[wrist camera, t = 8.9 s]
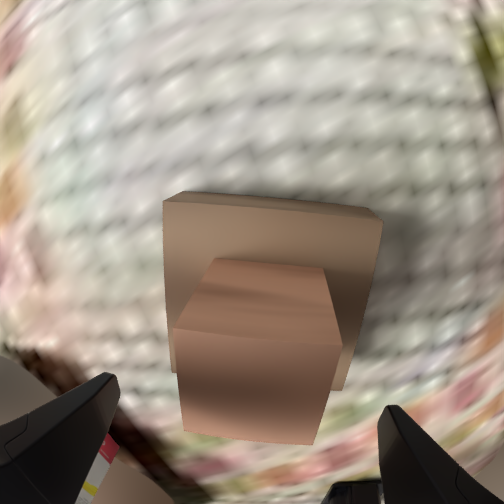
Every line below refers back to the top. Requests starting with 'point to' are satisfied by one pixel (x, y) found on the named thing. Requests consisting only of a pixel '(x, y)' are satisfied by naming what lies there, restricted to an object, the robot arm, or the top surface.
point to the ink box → (98, 470)
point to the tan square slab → (272, 250)
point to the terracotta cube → (257, 352)
